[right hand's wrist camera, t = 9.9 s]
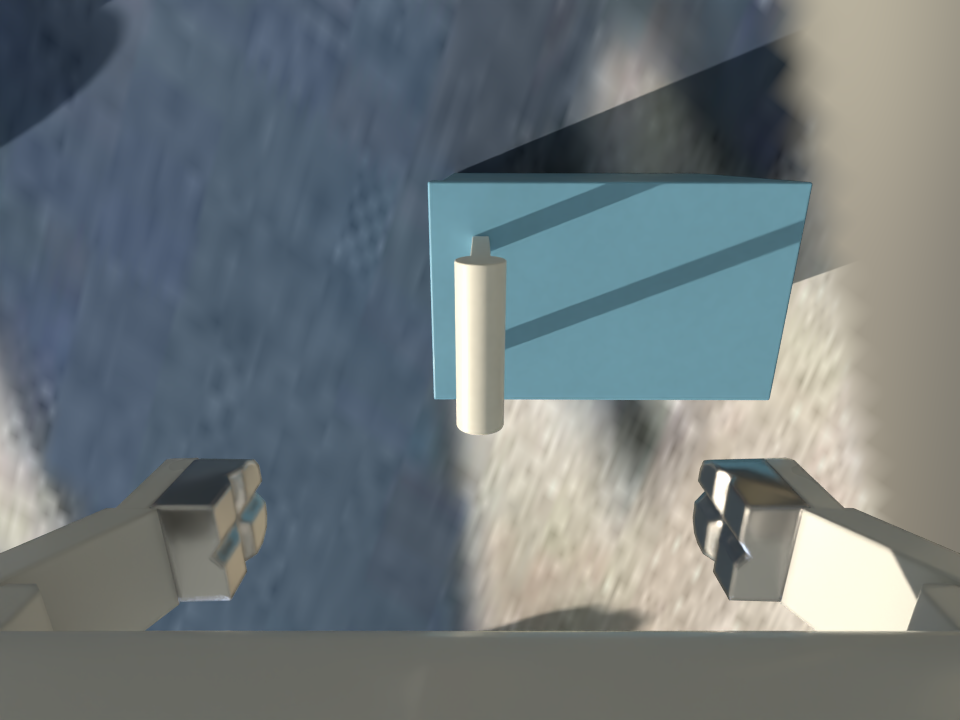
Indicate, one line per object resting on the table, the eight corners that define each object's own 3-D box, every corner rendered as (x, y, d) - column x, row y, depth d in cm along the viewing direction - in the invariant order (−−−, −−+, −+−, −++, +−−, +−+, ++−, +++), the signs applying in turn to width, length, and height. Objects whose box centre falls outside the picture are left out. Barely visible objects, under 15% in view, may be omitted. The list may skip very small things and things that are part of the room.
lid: (435, 390, 27) (416, 488, 19) (430, 180, 24) (403, 192, 16) (758, 390, 27) (874, 489, 19) (798, 181, 24) (961, 193, 16)
